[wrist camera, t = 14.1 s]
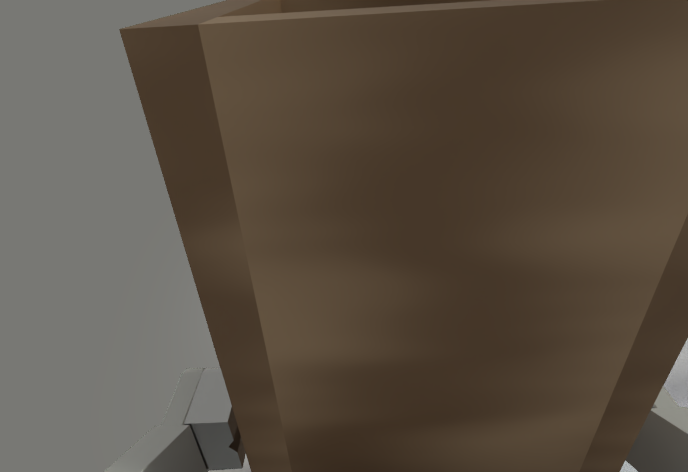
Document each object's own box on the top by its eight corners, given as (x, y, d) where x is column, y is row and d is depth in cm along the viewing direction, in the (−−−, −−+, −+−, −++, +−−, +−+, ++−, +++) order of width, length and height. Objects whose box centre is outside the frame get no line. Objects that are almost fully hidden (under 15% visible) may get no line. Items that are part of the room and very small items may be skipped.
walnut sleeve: (456, 529, 22) (552, -25, 9) (494, 717, 16) (867, -17, 4) (330, 533, 22) (250, -7, 9) (325, 720, 16) (119, 29, 4)
